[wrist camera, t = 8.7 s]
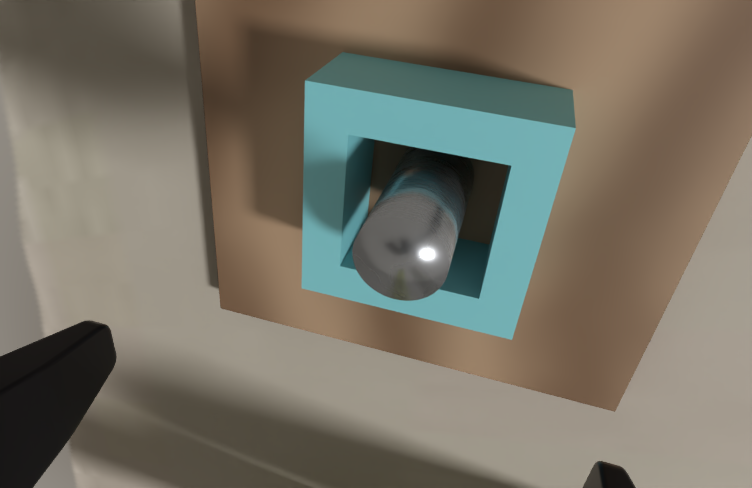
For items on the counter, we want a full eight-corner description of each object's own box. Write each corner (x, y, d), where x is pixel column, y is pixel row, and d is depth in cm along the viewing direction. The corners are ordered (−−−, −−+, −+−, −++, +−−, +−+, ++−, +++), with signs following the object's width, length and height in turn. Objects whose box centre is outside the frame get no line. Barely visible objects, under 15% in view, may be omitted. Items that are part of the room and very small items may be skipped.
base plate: (842, -91, 13) (862, -89, 12) (612, 391, 21) (614, 411, 21) (201, -158, 15) (181, -161, 15) (232, 293, 24) (220, 308, 23)
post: (481, 147, 17) (457, 229, 13) (466, 215, 18) (440, 310, 14) (403, 132, 17) (355, 207, 13) (394, 200, 18) (349, 288, 14)
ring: (573, 90, 15) (575, 128, 13) (517, 281, 19) (512, 339, 16) (342, 52, 16) (304, 80, 14) (332, 239, 20) (301, 288, 18)
